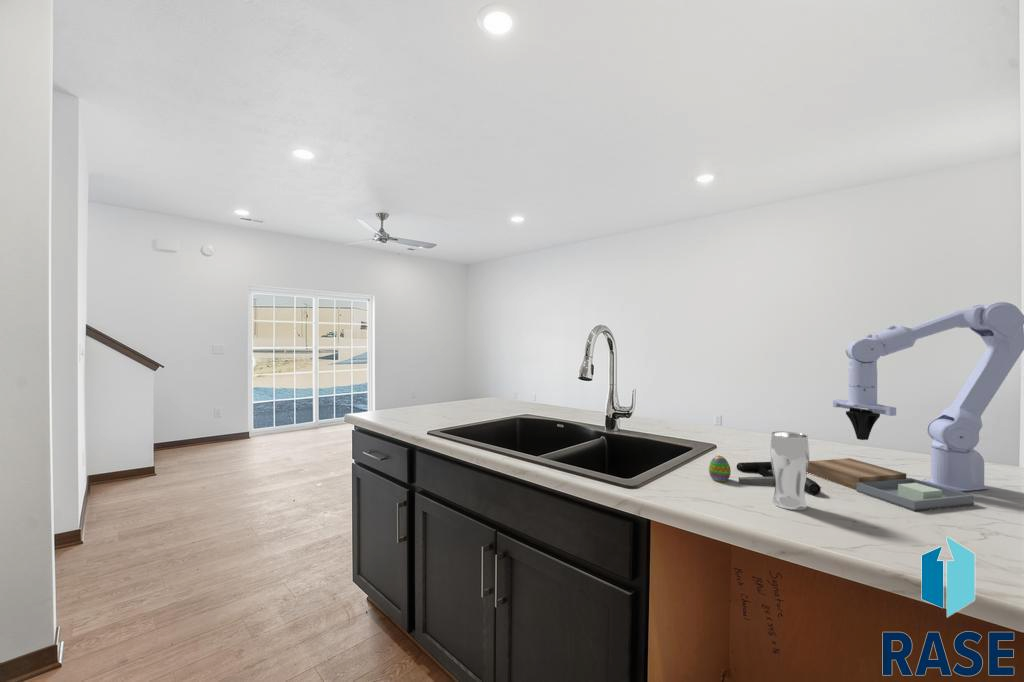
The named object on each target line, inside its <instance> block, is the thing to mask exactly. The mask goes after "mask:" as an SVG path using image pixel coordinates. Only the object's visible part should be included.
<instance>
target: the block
mask: <svg viewBox="0 0 1024 682" xmlns="http://www.w3.org/2000/svg"><path fill="white" fill-rule="evenodd" d="M898 495H899V496H902V497H905V498H908V499H911V500H921V499H931V498H941V497H942V490H939V489H936V488H932V487H929V486H925V485H922V484H918V483H908V484H898Z"/></svg>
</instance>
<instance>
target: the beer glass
mask: <svg viewBox="0 0 1024 682" xmlns="http://www.w3.org/2000/svg"><path fill="white" fill-rule="evenodd" d="M809 446H810V445H809V436H808V434H807V435H806V434H804V433H800V432H795V431H783V430H781V431H776V430H775V431H772V432H771V438H770V448H769V449H770V450H769V452H770V462H771V465H772V470H773V472H772V473H773V475H774V481H775V485H774V493H773V496H772V497H773V499H772V503H773V505H775V506H776V507H779V508H781V509H784V510H788V509H789V511H797V512H798V511H800V512H801V511H805V510H806V509H807V508H808V506H807V501H806V495H805V490H804V488H805V482H806V477H807V476H808V473H807V472H808V467H809V461H810V447H809Z"/></svg>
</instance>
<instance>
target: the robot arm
mask: <svg viewBox="0 0 1024 682" xmlns="http://www.w3.org/2000/svg"><path fill="white" fill-rule="evenodd" d="M955 328H960V329H961V328H962V329H966V328H967V329H968V328H969V329H970V330H971V332H974V334H977V335H978V336H979V337H980V338H981V339H982V341H983V342H984V344H985V345H986V346H987V348H986V350H984V353H983V354H982V356H981V357H980V359H979V361H978V362H977V364H976V365H975V367H974V369H973V370H972V372H971V373H970V374H969V377H968V379H966V381H965V383H964V385H963V386H962V387H961V389H960V390H959V393H958V394H957V396H956V397H955V398H954V401H953V402H952V403H951V405H950V406H948V407H947V408H944V409H943V410H942V411H941V412H940V414H939V415H938V416H937V417H936V418H933V419H932V420H930V421H929V422H928V424H927V425H926V433H927V434H928V436H929V437H930V439H932V442H931V443H930V478H921V479H920V481H924V482H927V483H931V484H934V485H938V486H941V487H945V488H949V489H952V490H956V491H959V492H970V491H971V492H972V491H979V490H981V491H982V490H989V489H990V486H987V485H985V460H984V457H983V456H982V454H981V453H980V452H979V451H978V450H975V449H974V448H976V447H977V446H978V444H979V442H980V431H981V429H982V428H983V422H982V415H983V414H984V412H985V410H986V409H987V407H988V406H989V404H990V403H991V401H992V399H993V398H994V396H995V395H996V393H997V392H998V390H999V389H1000V387H1001V386H1002V384H1003V382H1004V381H1005V379H1006V378H1007V377H1008V374H1010V372H1011V370H1012V369H1013V367H1014V366H1015V365H1016V362H1017V361H1018V360H1019V358H1020V357H1021V355H1022V354H1023V352H1024V314H1023V312H1022V311H1021V310H1020V309H1019V308H1018V307H1017V306H1016V305H1015V304H1012V303H1009V302H1005V301H1003V302H1002V301H999V302H994V303H990V304H978V305H973V306H971V307H967V308H962V309H957V310H953V311H950V312H948V313H945V314H942V315H940V316H937V317H934V318H932V319H929V320H927V321H924V322H921V323H919V324H916V325H914V326H911V327H907V326H903V325H898V326H895V325H889V326H888V327H887V328H886V329H887V330H883V331H880V332H877V333H875V334H871V333H869V334H866V335H865V338H862V339H856V340H853V341H851V342H850V343H849V344H848V345H847V347H846V349H845V354H846V356H847V357H848V358H849V359H848V360H849V361H848V364H849V367H848V400H845V399H832V407H833V408H842V409H847V410H848V409H849V410H848V411H847V410H845V415H846V416H847V417H848V419H849V421H850V422H851V425H852V427H853V429H854V433H855V437H856V439H857V440H860V441H868V440H869V437H870V435H871V432H872V429H873V428H874V425H875V423H876V422H877V420H878V419H880V416H881V415H885V416H887V417H888V416H889V417H891V416H892V417H893V416H897V407H893V406H888V405H883V404H879V403H878V364H877V363H878V360H879V359H880V357H886V356H888V355H891V354H894V353H897V352H900V351H904V350H906V349H909V348H912V347H913V346H914V345H915V343H916V341H917V340H919V339H922V338H925V337H930V336H933V335H935V334H939V333H941V332H947V331H948V330H952V329H955Z"/></svg>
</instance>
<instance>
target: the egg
mask: <svg viewBox="0 0 1024 682" xmlns="http://www.w3.org/2000/svg"><path fill="white" fill-rule="evenodd" d="M708 465H709V466H708V472H709V476H710V477H711V479H712V480H713V481H716V482H723V483H724V482H727V481H728V480H730V477H731V466H730V464H729V462H728V460H727V459H726V458H725V457H724V456H721V455H716V456H714V457H713V458H712V459H711V461H710V462H709V464H708Z"/></svg>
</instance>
